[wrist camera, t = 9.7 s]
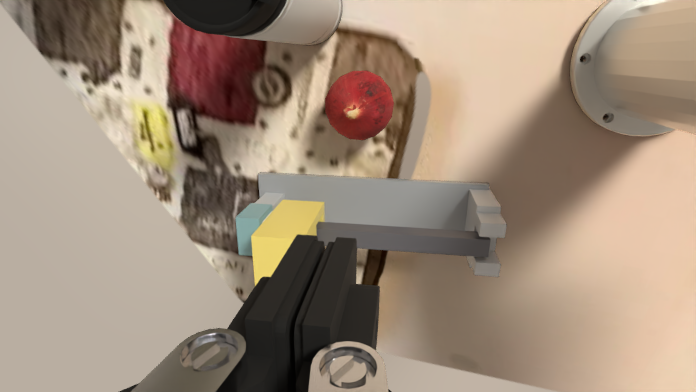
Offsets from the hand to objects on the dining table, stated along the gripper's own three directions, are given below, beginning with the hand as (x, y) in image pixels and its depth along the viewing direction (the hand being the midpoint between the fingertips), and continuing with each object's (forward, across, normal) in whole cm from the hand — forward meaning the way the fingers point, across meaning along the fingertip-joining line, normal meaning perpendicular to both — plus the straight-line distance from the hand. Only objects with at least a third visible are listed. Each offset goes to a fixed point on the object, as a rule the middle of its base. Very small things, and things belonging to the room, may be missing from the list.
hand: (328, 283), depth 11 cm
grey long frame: (+29, +1, +9) cm, 30 cm away
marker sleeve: (+25, +7, +9) cm, 27 cm away
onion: (+29, +2, -2) cm, 29 cm away
